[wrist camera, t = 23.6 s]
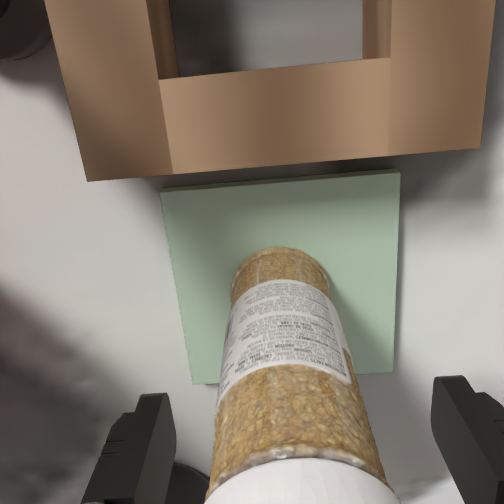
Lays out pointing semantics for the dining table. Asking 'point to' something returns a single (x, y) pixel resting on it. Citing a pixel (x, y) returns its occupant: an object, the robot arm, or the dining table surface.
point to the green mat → (292, 236)
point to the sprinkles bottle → (290, 394)
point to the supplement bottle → (186, 486)
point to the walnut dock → (258, 88)
